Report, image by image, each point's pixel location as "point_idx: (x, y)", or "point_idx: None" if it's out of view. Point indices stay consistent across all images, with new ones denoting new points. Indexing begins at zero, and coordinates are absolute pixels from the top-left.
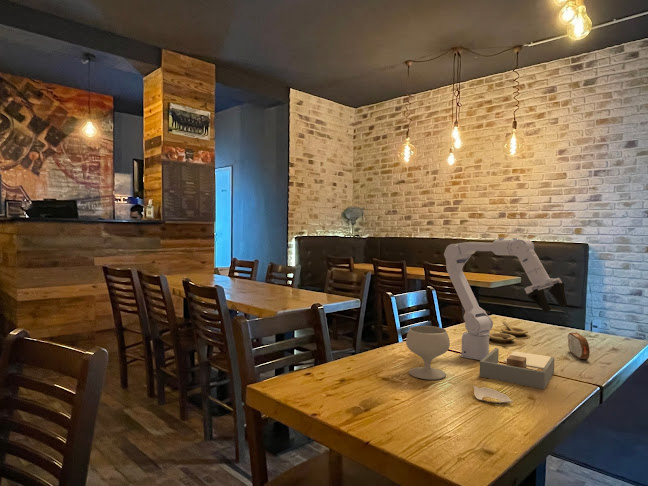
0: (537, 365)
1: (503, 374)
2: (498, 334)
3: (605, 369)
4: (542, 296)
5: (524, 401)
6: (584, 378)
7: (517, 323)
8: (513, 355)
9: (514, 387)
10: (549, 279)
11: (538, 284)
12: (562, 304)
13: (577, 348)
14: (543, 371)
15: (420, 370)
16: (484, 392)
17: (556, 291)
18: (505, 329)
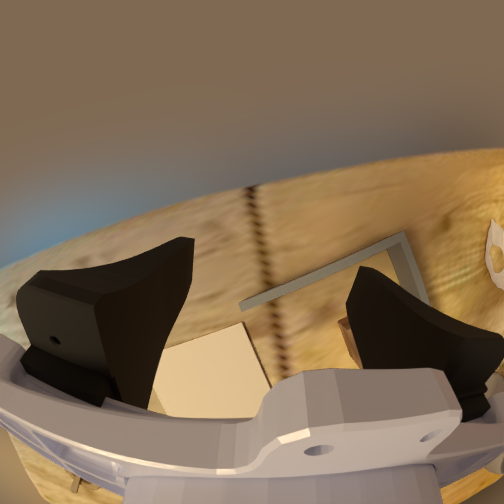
0: (240, 348)
1: None
2: None
3: (122, 241)
4: (444, 318)
5: (465, 220)
6: (227, 230)
7: (36, 467)
8: (359, 362)
9: (429, 278)
10: (444, 397)
11: (481, 431)
12: (189, 270)
13: None
14: (396, 238)
15: None
16: (495, 279)
17: (144, 341)
18: (88, 482)
